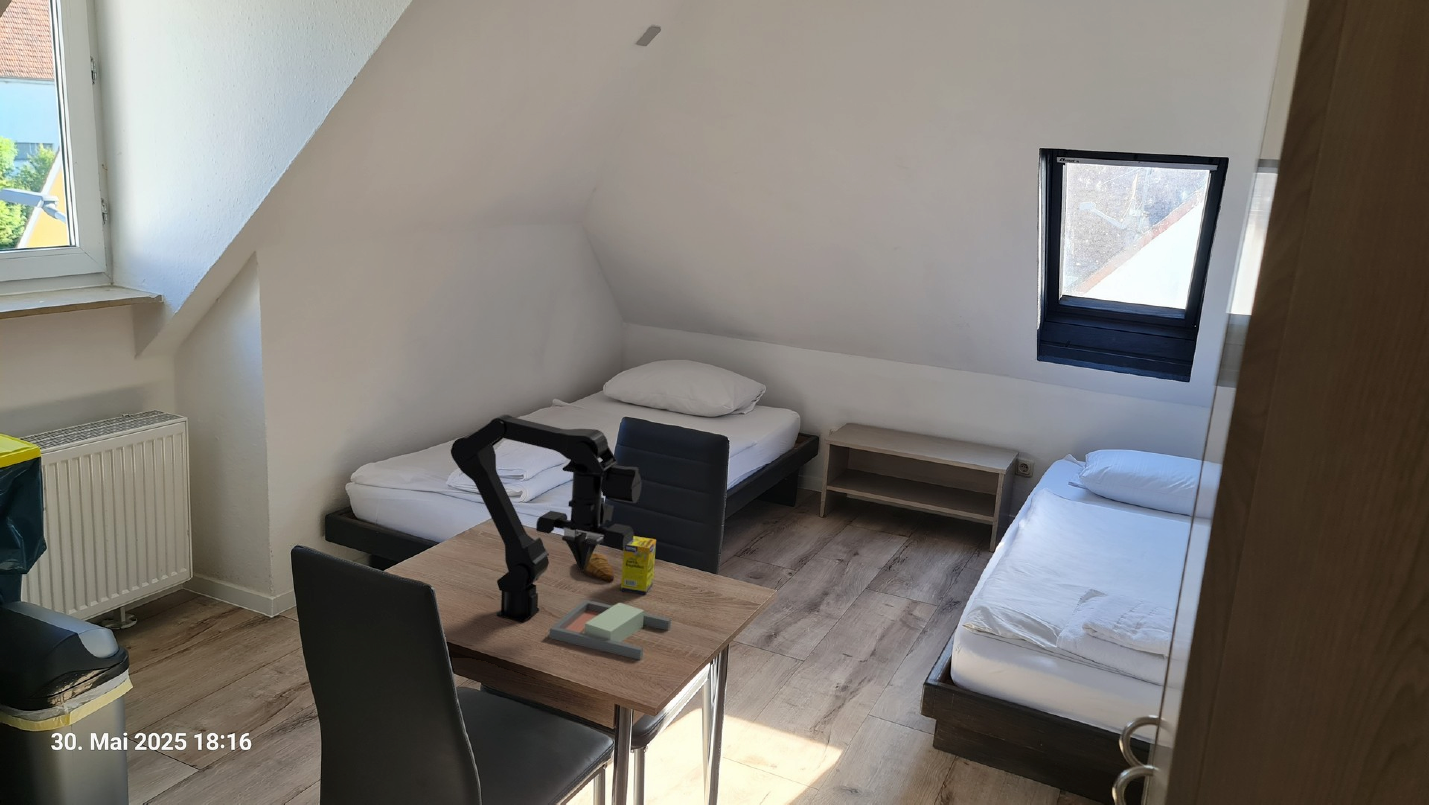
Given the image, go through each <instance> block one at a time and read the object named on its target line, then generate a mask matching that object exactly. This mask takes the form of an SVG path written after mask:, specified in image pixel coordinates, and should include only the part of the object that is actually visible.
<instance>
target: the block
mask: <svg viewBox="0 0 1429 805" xmlns="http://www.w3.org/2000/svg"><path fill="white" fill-rule="evenodd" d="M612 606H613V607H611V608H609V609H608V610H606V611H604V612H603V613H601V614H599V615H598V616H596V617H594V618H593V619H591V620H590V621H588V622H586V623H585V630H584V631H583V633H584V634H588V635H592V636H597V637H601V638H605V639H609V640H613V641H618V642H622V643H623V641H624V640H626V639H627V638H629V637H630V636H632V635H634V634H635V633H637V632H638V631H640V630H641V629H643V628H644V625H643V618H644V613H645V610H644V609H640V608H638V607H636V606H631V605H628V604H626V603H622V602H618V603H616V604H614V605H612Z"/></svg>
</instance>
